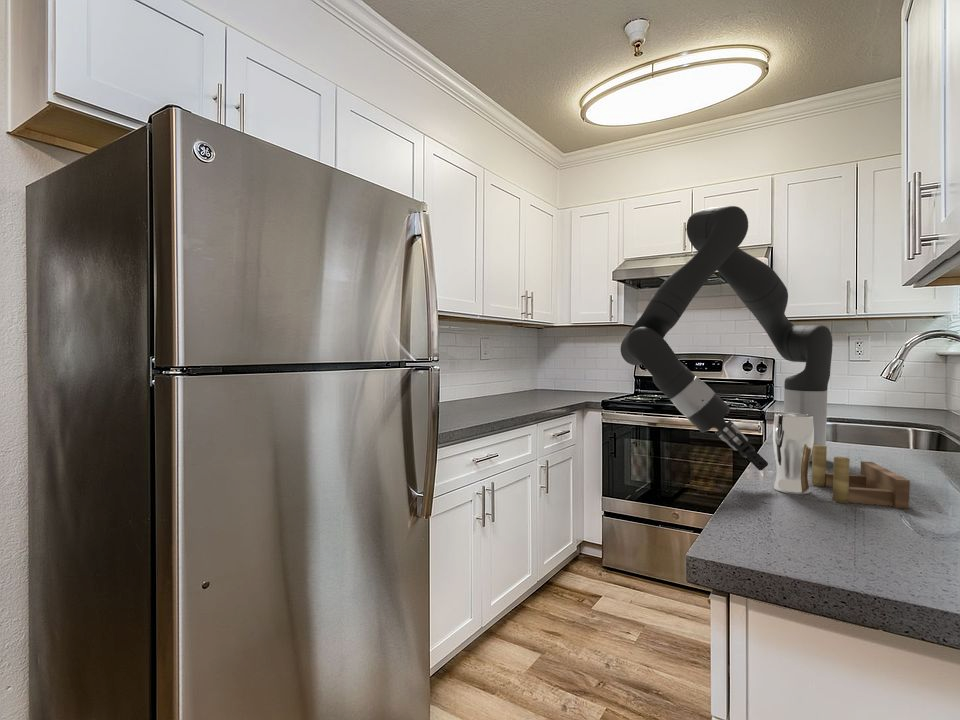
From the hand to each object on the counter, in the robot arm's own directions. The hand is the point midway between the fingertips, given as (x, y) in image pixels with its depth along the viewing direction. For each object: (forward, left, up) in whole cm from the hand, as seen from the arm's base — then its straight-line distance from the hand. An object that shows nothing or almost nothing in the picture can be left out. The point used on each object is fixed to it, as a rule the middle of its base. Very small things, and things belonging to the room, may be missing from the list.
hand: (763, 466), depth 108 cm
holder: (0, +15, -4) cm, 16 cm away
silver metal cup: (0, +5, -4) cm, 7 cm away
